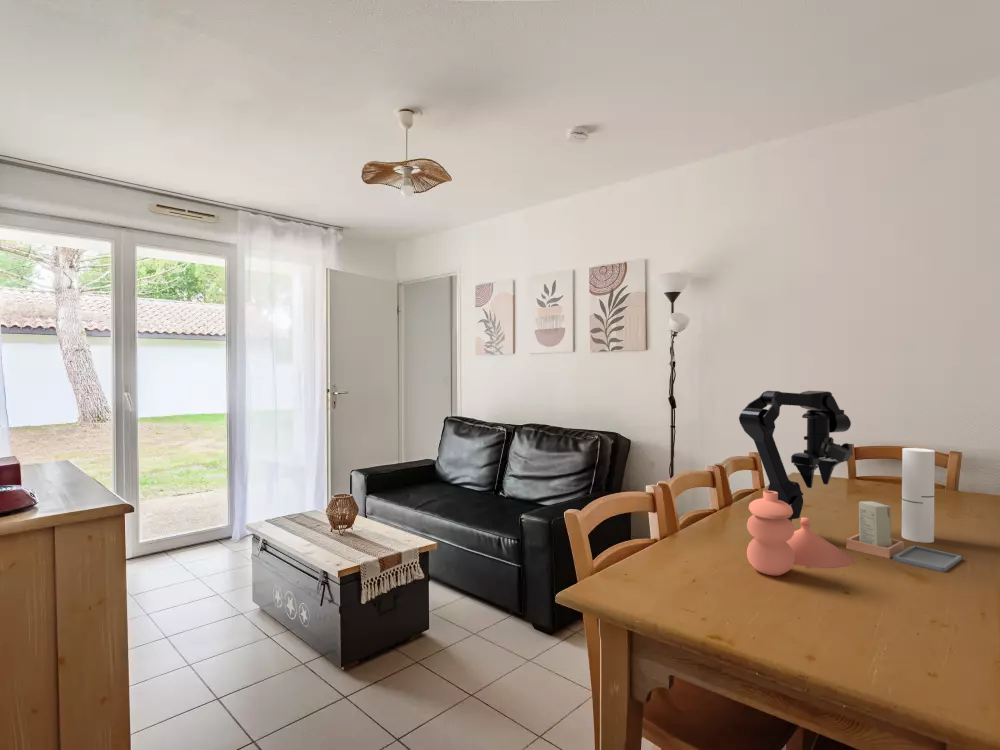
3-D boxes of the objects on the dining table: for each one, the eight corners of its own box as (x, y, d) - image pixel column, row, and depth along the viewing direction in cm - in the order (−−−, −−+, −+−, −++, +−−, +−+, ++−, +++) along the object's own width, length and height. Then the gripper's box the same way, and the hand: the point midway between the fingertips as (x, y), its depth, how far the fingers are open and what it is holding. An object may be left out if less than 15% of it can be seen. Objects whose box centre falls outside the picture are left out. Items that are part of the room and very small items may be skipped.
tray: (943, 573, 124) (943, 568, 124) (893, 561, 132) (893, 556, 132) (962, 561, 132) (962, 555, 132) (913, 549, 140) (913, 545, 140)
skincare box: (892, 554, 137) (892, 506, 137) (876, 554, 137) (877, 507, 137) (872, 545, 144) (873, 500, 144) (857, 546, 143) (858, 500, 143)
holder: (889, 559, 134) (889, 549, 134) (846, 548, 142) (846, 539, 142) (903, 551, 139) (903, 541, 139) (861, 541, 147) (861, 532, 147)
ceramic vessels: (781, 535, 153) (781, 469, 152) (866, 555, 136) (867, 482, 136) (716, 563, 131) (717, 487, 130) (809, 592, 114) (810, 504, 114)
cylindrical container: (939, 543, 145) (940, 452, 145) (910, 542, 147) (910, 451, 146) (924, 535, 152) (925, 448, 152) (896, 534, 154) (897, 447, 153)
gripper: (830, 438, 146) (830, 495, 146) (863, 434, 156) (862, 487, 156) (790, 434, 155) (789, 487, 156) (823, 430, 165) (823, 480, 166)
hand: (817, 486), depth 158 cm, fingers open, 9 cm apart
